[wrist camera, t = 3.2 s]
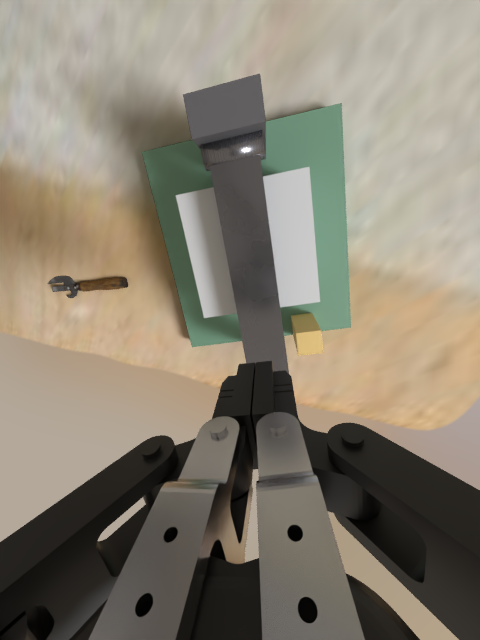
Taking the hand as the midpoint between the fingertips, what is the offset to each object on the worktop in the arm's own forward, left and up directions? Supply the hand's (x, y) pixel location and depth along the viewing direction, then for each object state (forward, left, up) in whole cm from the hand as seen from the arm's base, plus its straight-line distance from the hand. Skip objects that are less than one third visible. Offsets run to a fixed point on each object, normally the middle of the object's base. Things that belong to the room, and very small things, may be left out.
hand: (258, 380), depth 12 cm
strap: (-4, 0, -13) cm, 13 cm away
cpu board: (-5, 0, -15) cm, 16 cm away
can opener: (-4, -18, -16) cm, 24 cm away
